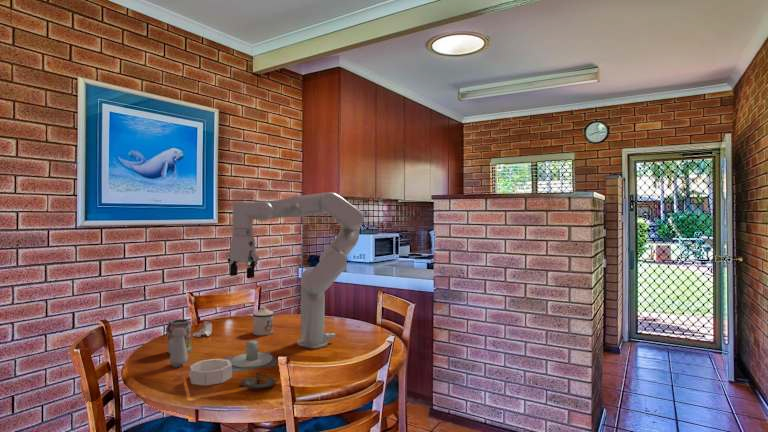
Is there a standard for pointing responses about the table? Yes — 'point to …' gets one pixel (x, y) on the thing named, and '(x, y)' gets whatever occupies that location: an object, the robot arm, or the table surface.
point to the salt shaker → (178, 348)
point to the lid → (250, 382)
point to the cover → (251, 357)
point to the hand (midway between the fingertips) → (241, 276)
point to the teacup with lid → (263, 322)
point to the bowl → (210, 372)
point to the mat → (236, 369)
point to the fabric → (204, 330)
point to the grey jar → (179, 324)
